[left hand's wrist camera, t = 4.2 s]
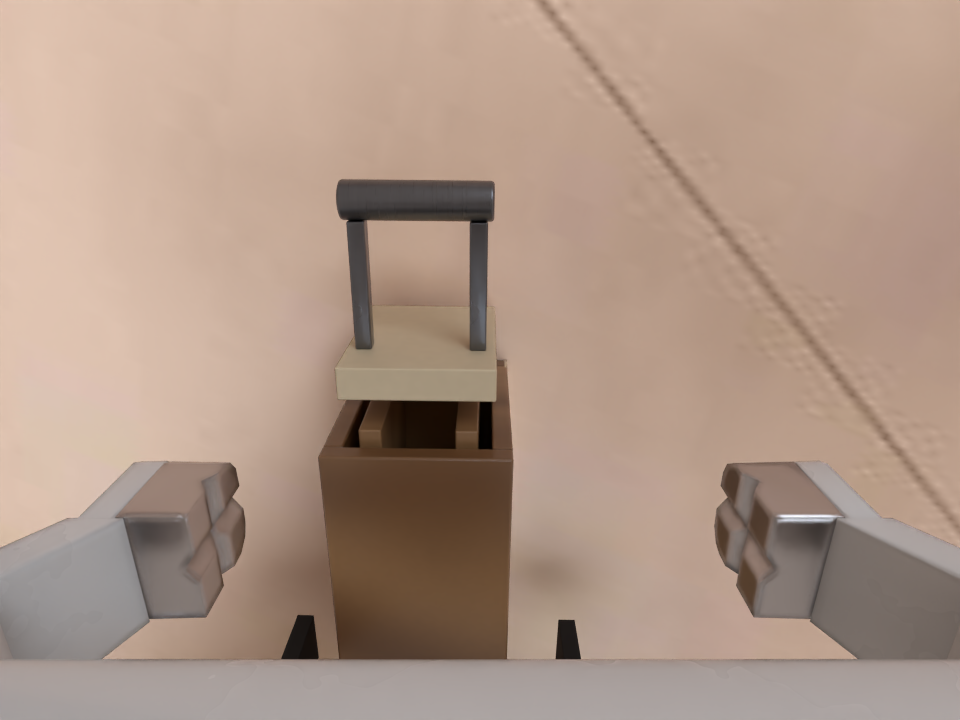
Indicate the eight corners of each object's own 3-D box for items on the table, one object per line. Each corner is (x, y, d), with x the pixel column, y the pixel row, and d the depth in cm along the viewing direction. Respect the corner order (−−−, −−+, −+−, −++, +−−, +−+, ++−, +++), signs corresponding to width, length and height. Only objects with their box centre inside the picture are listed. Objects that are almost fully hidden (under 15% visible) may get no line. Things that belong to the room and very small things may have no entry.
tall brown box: (366, 358, 29) (317, 456, 21) (506, 360, 29) (513, 459, 21) (384, 639, 35) (353, 799, 27) (499, 641, 35) (502, 802, 27)
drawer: (364, 166, 25) (317, 186, 18) (497, 167, 25) (500, 187, 18) (389, 597, 33) (365, 720, 27) (489, 599, 33) (489, 722, 26)
